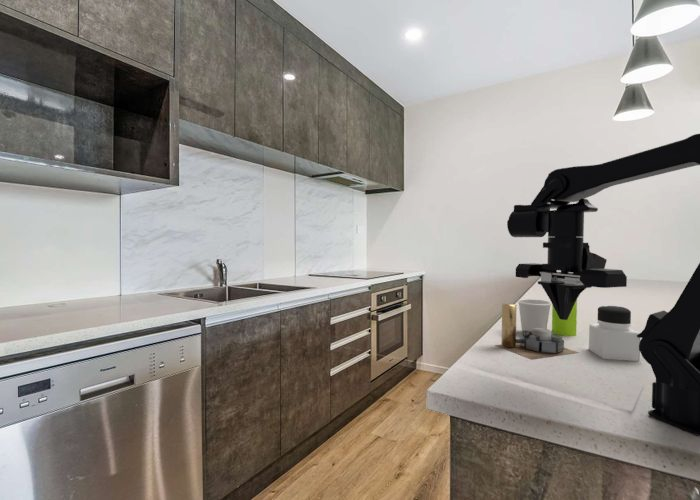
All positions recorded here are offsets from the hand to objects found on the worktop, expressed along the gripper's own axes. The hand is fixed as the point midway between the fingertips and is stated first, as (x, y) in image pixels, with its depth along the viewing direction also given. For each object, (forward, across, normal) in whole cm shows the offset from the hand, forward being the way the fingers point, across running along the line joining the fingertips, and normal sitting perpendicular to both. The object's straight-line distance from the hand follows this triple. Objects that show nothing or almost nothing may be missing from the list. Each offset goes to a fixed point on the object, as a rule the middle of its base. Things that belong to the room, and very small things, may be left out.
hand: (563, 319), depth 67 cm
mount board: (+12, +15, -10) cm, 22 cm away
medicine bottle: (+12, +6, -23) cm, 27 cm away
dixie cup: (+12, +26, -21) cm, 36 cm away
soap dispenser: (+12, +23, -29) cm, 39 cm away
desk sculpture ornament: (+11, +16, -9) cm, 22 cm away
